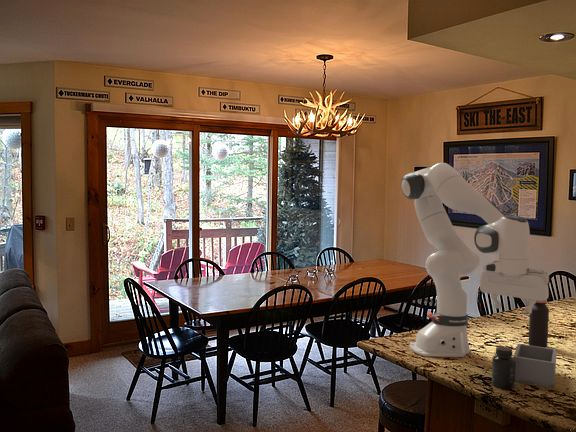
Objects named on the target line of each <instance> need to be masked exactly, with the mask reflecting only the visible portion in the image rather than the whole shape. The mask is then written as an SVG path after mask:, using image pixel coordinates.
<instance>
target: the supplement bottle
mask: <svg viewBox="0 0 576 432" xmlns="http://www.w3.org/2000/svg"><path fill="white" fill-rule="evenodd" d="M495 354H496V355H494V356H492V361H491V362H492V363H491V364H492V366H491V368H492V369H491V384H492V385H493V386H494V387H495V388H497V389H501V390H512V389H515V387H516V381H515V367H516V361H515V359H514V358H513V349H512V348H510V347H507V346H497V347H495Z"/></svg>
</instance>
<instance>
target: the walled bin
mask: <svg viewBox="0 0 576 432" xmlns="http://www.w3.org/2000/svg"><path fill="white" fill-rule="evenodd" d="M512 357H513V358H514V359H515V361H516V367H515V383H516V382H518V383H522V384H529V385H533V386H539V387H545V388H552V389H554V388H555V382H556V381H555V380H556V379H555V378H556V370H557V369H556V368H557V349H556V348H551V347H549V348H548V347H546V348H544V347H538V346H531V345H529V344H522V343H517V346H516V349H515V351H514V354H513V355H512Z"/></svg>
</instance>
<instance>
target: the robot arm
mask: <svg viewBox="0 0 576 432" xmlns="http://www.w3.org/2000/svg"><path fill="white" fill-rule="evenodd" d="M400 188H401V192H402V194H403V195H404V197H406V198H407V199H409V200H414V202H413V204H414V208H415V209H414V210H415V214H416V217H417V219H418V222H419V225H420V227H421V229H422V232H423V234H424V236H425V238H426V241H427V242H428V243H429V244H430V245H432V246H433V247H435V248H436V249H437V251H435V252H433V253H431V254H430V255H429V256H428V257H427V258H426V261H425V270H426V272H427V274H428V275H429V276H430V277H431V278H432V280H433V283H434V285H435V289H436V311H435V312H434V313H432V312H431V311H429V312H427V314H426V315H427V317H428V318H430V319H432V320H431V322H429V323H428V324H426V325H425V326H424V327H422V328H421V329H420V330H418V331H417V334H416V335H415V336H416V338H415V342H410V344H409V348H410V350H412V351H413V352H414V353H415V354H418V355H419V356H423V357H439V358H440V357H442V358H444V357H445V358H446V357H447V358H464V357H465V356H466V355H468V354H469V353H470V352H471V349H470V345H469V339H468V325H469V323H468V322H469V317H468V316H469V314H468V313H467V312H468V293H467V292H466V291H465V289H464V288H463V286H462V282H461V278H462V277H468V276H469V275H471V274H474V273H475V272H477V271H478V269H479V267H480V265H481V259H480V256H479V255H478V253H477V252H476V251H475V250H473V249H472V248H470V247H469V246H468V245H467V244H466V242H464V240H463V239H462V238H461V237H460V236H459V234H458V232H457V231H456V230H455V227H454V226H453V224H452V222H451V219H450V217H449V216H448V213H447V211H446V208H445V207H448V208H449V209H450V210H453V211H459V212H465V213H469V214H473V215H476V216H478V217H479V218H481V219H482V220H483V221H484V222H485V223H487V224H484V225H481V226H479V227H478V228H477V229H476V230H475V232H474V236H473V237H474V238H473V241H474V245H475V247H476V249H477V250H478V251H479V252H481V253H483V254H486V255H489V254H492V255H493V254H498V260H494V261H492V262H488V263H485V264H483V265H482V269H483V272H482V273H481V275H480V280H479V290H480V292H481V293H482V294H483V293H484V294H490V298H491V300H492V301H493V304H494V307H493V308H495V309H499V310H500V309H502V302H500V301H499V300H498V297H499V296H505V297H510V298H519V299H526V300H528V303H529V305H528V306H525V307H524V313H525V314H529V315H530V313H532V307H533V306H534V304H535V303H536V300H538V301H544V300H546V299H547V300H548V299H549V295H550V294H549V292H550V291H549V282H550V276H549V274H548V272H546V271H545V270H544V269H535V268H530V255H529V247H530V243H531V242H530V241H531V239H530V238H531V237H530V235H531V232H530V225H529V222H528V220H527V219H526V218H525V217H523V216H520V215H513V214H505V213H504V212H503V211H502V210H501V209H500V208H499V207H498V206H496V205H495V204H494V203H493V202H492V201H491V200H490V199H489V198H487V197H486V196H485V195H483V194H482V193H480V192H479V191H478V190H477V189H475V187H473V186H472V185H471V184H470V183H469V182H467V180H466V179H465V178H464V177H463V176H462V175H461V174H460V172H458V170H456V169H455V168H454V167H453V166H451V165H450V164H449V163H446V162H439V163H435V164H434V165H432V166H430V167H425V168H422V169H419V170H417V171H413V172H408V173H407V174H405V175H403V177H402V178H401V181H400ZM443 204H444V205H445V207H444V205H443Z"/></svg>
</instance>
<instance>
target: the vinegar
mask: <svg viewBox="0 0 576 432" xmlns="http://www.w3.org/2000/svg"><path fill="white" fill-rule="evenodd" d="M547 301H548V298H547V299H546V300H544V301H538V300H536V303H535V304H534V306H533V307H532V313H530V314H529V323H528V324H529V325H528V345H531V346H538V347H544V348H548V342H549V341H548V340H549V321H550V319H549V316H550V310H549V308H548V306H547V305H546V304H547Z"/></svg>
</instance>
